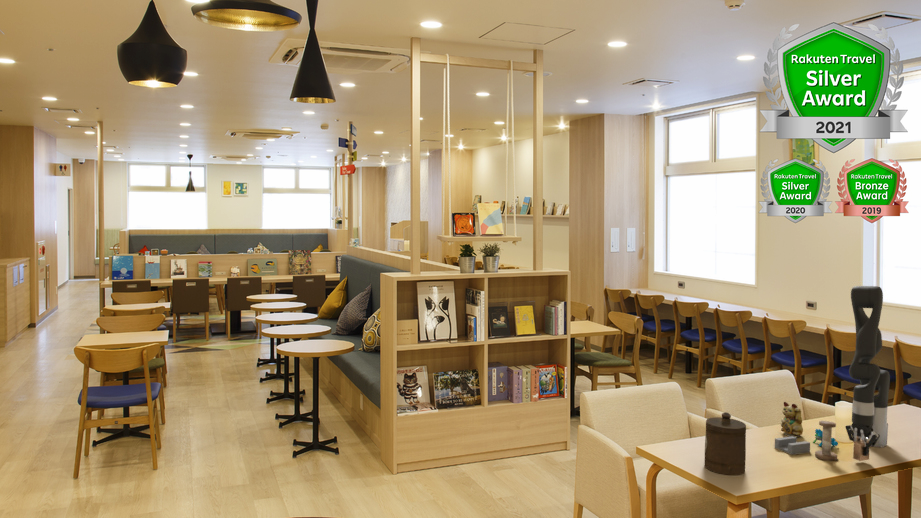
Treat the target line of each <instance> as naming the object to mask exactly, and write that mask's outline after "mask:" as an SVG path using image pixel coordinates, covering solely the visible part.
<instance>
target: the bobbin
mask: <svg viewBox="0 0 921 518" xmlns="http://www.w3.org/2000/svg"><path fill="white" fill-rule="evenodd" d="M818 425H819V426H821V427H822V431H823V436H822V446H821V450H816V451H814V456H815V458H817V459H820V460H822V461H827V462H834V461H835V462H836V461H837V460H838V454H836V453H834V452H832V445H831V438H832V434H833V433H832V431H833V428H836V427H837V423H835V422H833V421H830V420H819V422H818Z"/></svg>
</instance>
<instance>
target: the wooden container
mask: <svg viewBox="0 0 921 518" xmlns="http://www.w3.org/2000/svg"><path fill="white" fill-rule="evenodd" d="M731 417H732V415H731V414H730V413H729V412H726V411H725V412H722V413H721V417H718V416H717V417H709V418H707V419H706V421H705V440H704V468H706V469H707V470H709V471H711V472H713V473H717V474H721V475H727V476H738V475H742V474H744V473H745V472H746V461H747V460H746V458H747V457H746V454H747V452H746V451H747V449H746V447H747V446H746V445H747V444H746V439H747V438H746V437H747V436H746V435H747V434H746V433H747V425H746V423H745V422H743V421H740V420H737V419H735V418H734V419H733V418H731Z"/></svg>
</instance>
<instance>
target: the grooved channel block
mask: <svg viewBox="0 0 921 518" xmlns="http://www.w3.org/2000/svg"><path fill="white" fill-rule="evenodd" d="M797 438H798V437H793V436H783V437H777V438H774V448H775V449H777V450H780V451H781V450H782V452H785V453H787V454H788V455H791V456H792V455H799V454H806V453H810V452H811V442H809V441H807V440H804V441H798V440H797Z"/></svg>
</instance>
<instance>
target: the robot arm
mask: <svg viewBox="0 0 921 518" xmlns="http://www.w3.org/2000/svg"><path fill="white" fill-rule="evenodd" d="M850 301H851V306H852V312H853V316H854V323H855V351H854V356H853V359H852V361H851V363H850V366H849V369H848V374H849V376H850V378H851V379H853V380H855V381H856V380H859V383H860V384H858V385H855V386H854V387H853V395H852V396H853V399H852V405H851V406H852V407H851V422H852V424H849V425H845V430H846V433H847V437H848V439H849V441H852V442H853V443H854V441H861V440H862V441H863V446H864V447H863V455H864V456H867V455H868V454H869V455H870V450H869V447H870V448H871V447H875V448H885V447H886V446H887V445H888V436H889V434H888V432H889V424H888V423H887V422H888V406H889V405H888V403H889V390H890V385H891V384H890V383H891V382H890V380H891V376H890V375H891V374H890V372H889V371H888V370H884V369H881V368H880V367H879V365H878V364H876V363H871V362H872V360H873V359H874V358H875V357H876V356H877V355H878V354H879V352H881V350H882V347H883V336H882V331H881V330H880V328H879V325H880V322H881V321H880V320H881V316H882V315H881V314H882V309H883V302H884V293H883V289H882V287H880V286H877V285H855V286H852V288H851V289H850ZM864 309H872V310H871V314H870V316H868V315H867V314H866V312H865V310H864ZM875 391H878V393H877V394H875Z"/></svg>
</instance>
